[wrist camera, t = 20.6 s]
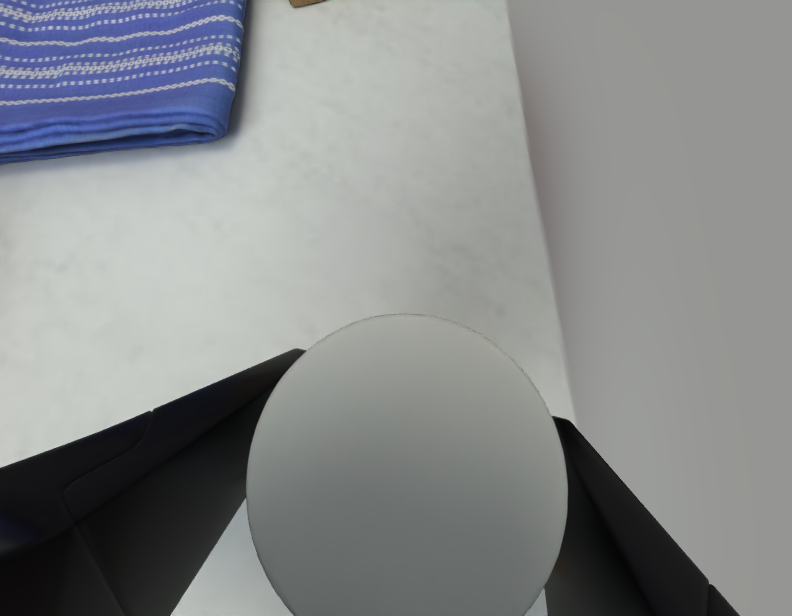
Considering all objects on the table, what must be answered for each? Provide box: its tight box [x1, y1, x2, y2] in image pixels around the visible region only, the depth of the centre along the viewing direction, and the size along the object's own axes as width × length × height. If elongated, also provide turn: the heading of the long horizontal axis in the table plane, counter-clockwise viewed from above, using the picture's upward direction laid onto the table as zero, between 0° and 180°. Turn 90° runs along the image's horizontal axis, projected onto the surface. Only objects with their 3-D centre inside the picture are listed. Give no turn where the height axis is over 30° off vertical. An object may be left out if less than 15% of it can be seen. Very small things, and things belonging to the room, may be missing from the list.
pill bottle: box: [246, 314, 568, 616], centre depth 10 cm, size 6×6×10 cm
